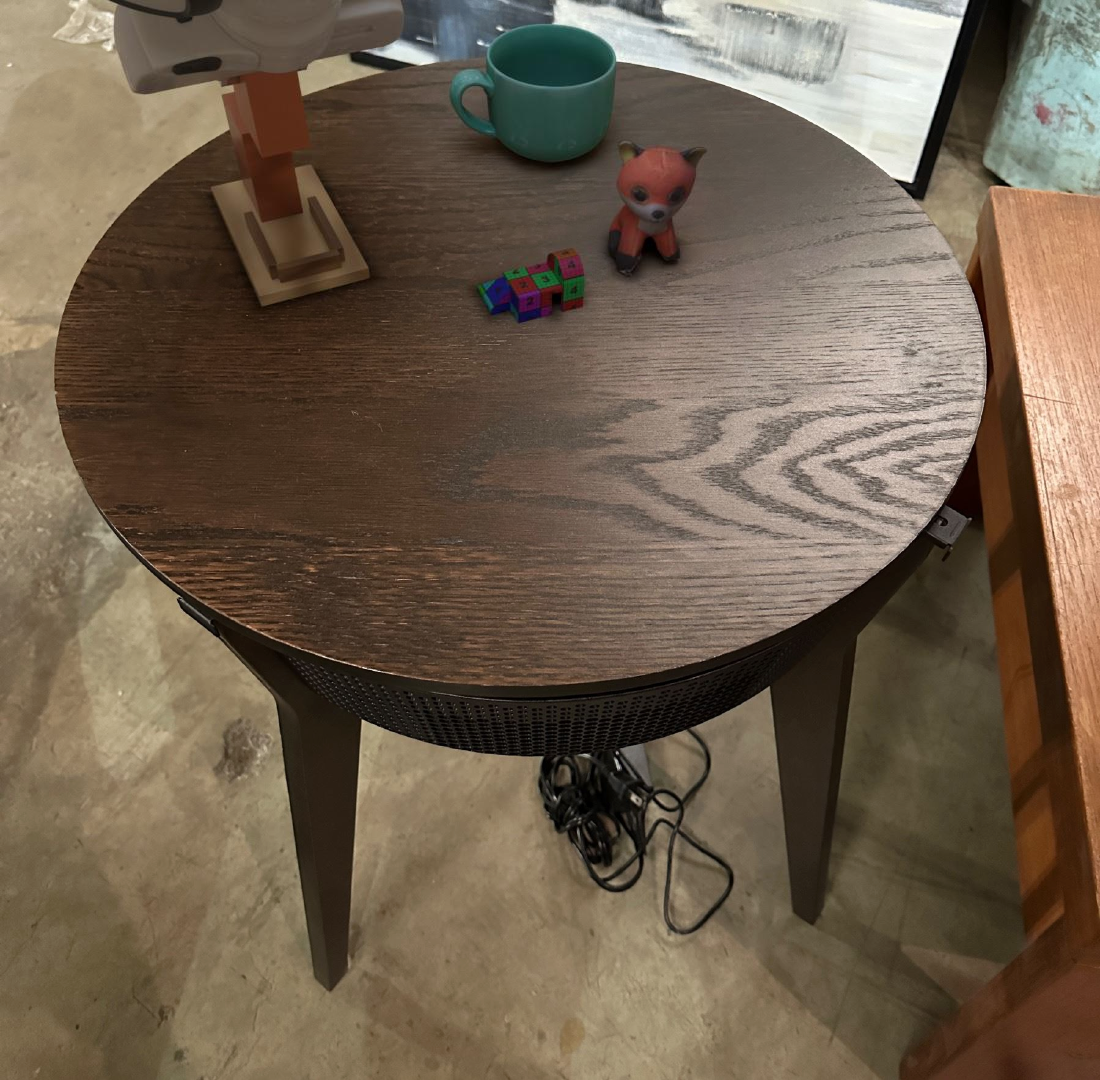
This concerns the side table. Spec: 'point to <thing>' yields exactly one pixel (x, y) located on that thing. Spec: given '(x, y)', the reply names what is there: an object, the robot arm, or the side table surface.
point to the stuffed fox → (650, 200)
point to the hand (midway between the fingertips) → (260, 68)
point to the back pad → (273, 111)
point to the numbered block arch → (537, 287)
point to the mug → (543, 91)
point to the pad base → (283, 223)
